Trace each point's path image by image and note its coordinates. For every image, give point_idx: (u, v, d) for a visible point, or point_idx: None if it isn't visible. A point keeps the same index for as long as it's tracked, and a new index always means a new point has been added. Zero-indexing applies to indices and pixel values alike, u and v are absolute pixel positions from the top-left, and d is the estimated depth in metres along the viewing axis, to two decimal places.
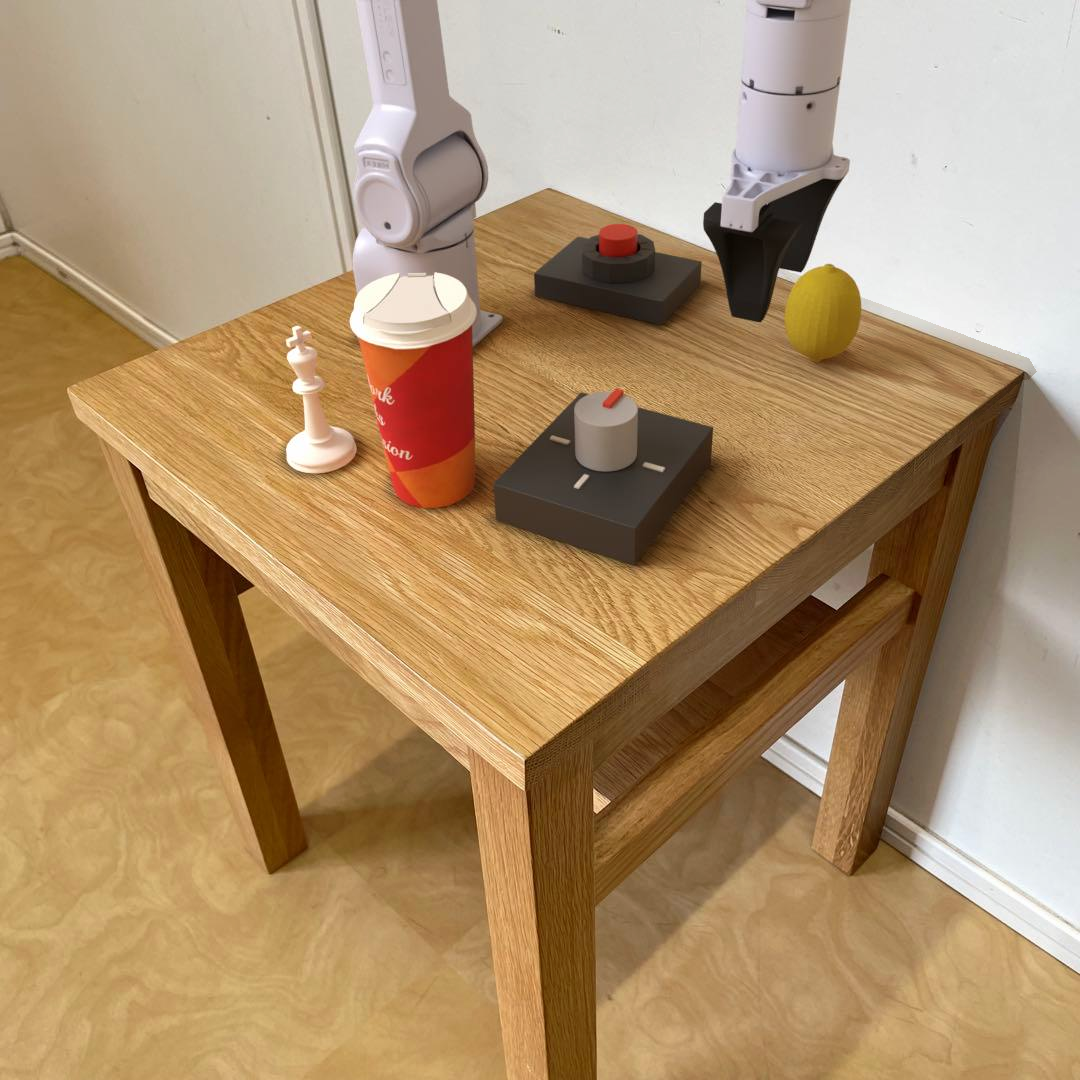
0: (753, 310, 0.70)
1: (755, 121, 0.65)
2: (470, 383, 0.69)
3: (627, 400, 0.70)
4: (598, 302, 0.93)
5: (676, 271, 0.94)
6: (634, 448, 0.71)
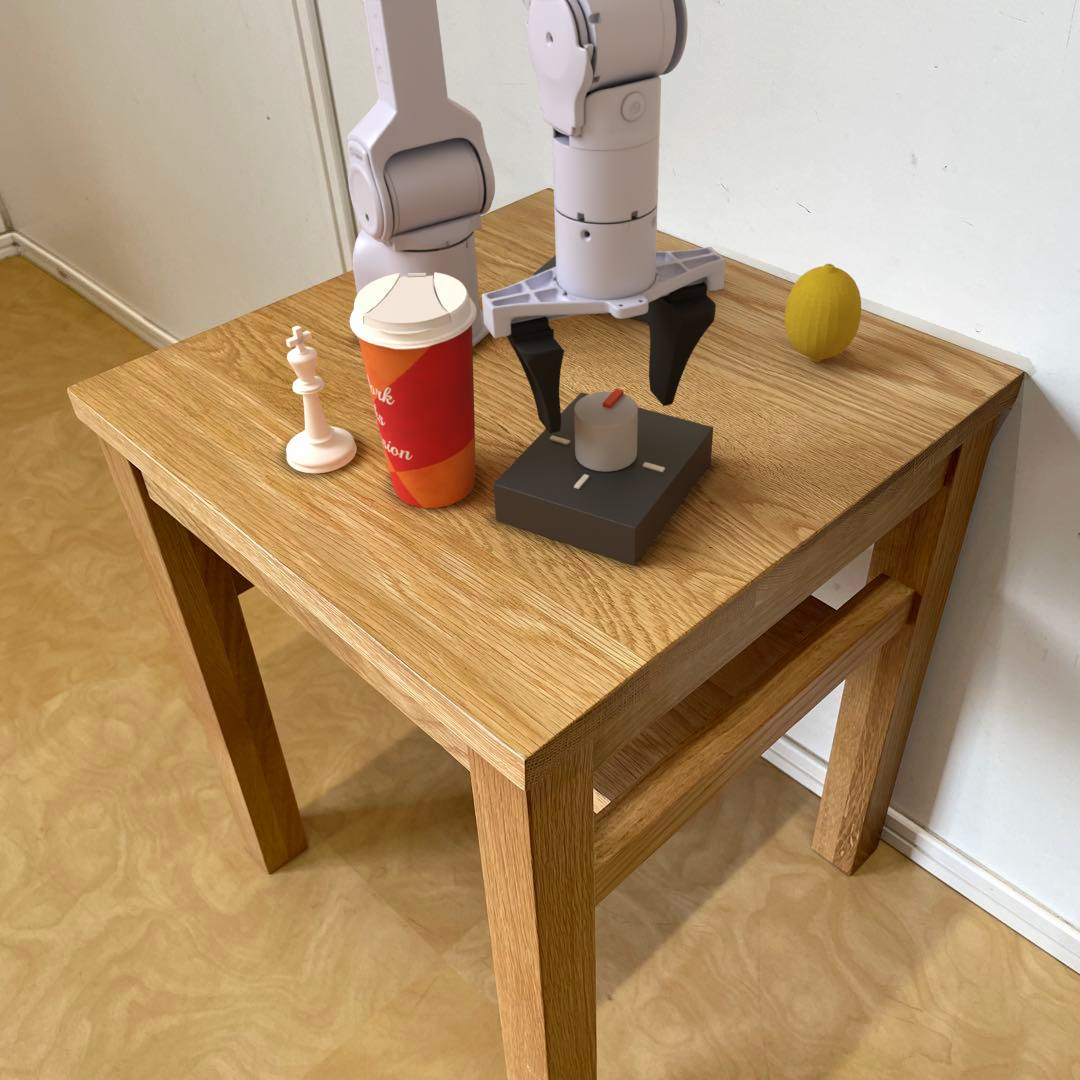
0: (545, 419, 0.68)
1: (555, 233, 0.62)
2: (470, 383, 0.69)
3: (627, 400, 0.70)
4: None
5: None
6: (634, 448, 0.71)
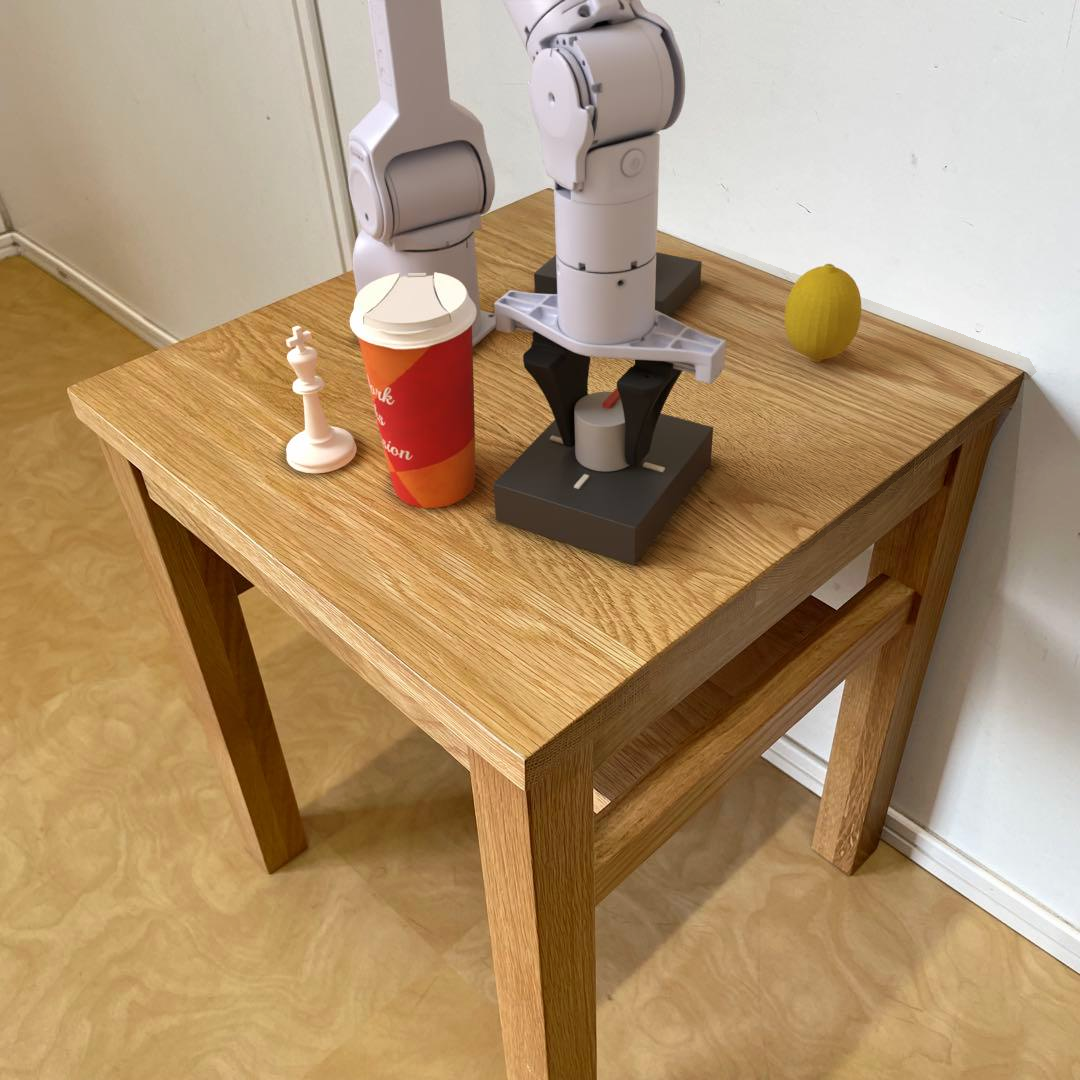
0: (647, 444, 0.71)
1: (640, 295, 0.62)
2: (470, 383, 0.69)
3: None
4: None
5: (676, 271, 0.94)
6: None
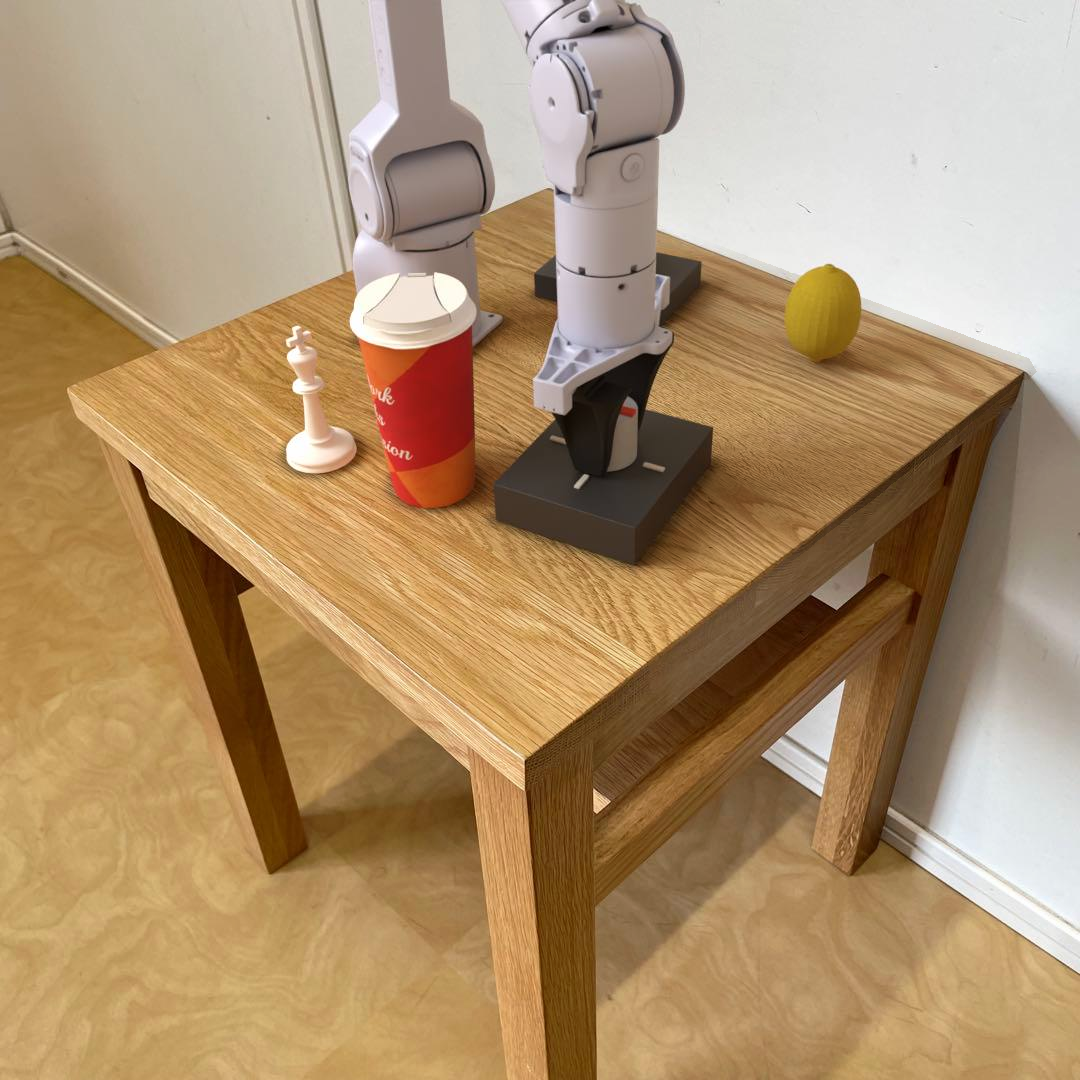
0: (594, 465, 0.69)
1: (569, 299, 0.63)
2: (470, 383, 0.69)
3: (621, 420, 0.69)
4: None
5: (676, 271, 0.94)
6: None
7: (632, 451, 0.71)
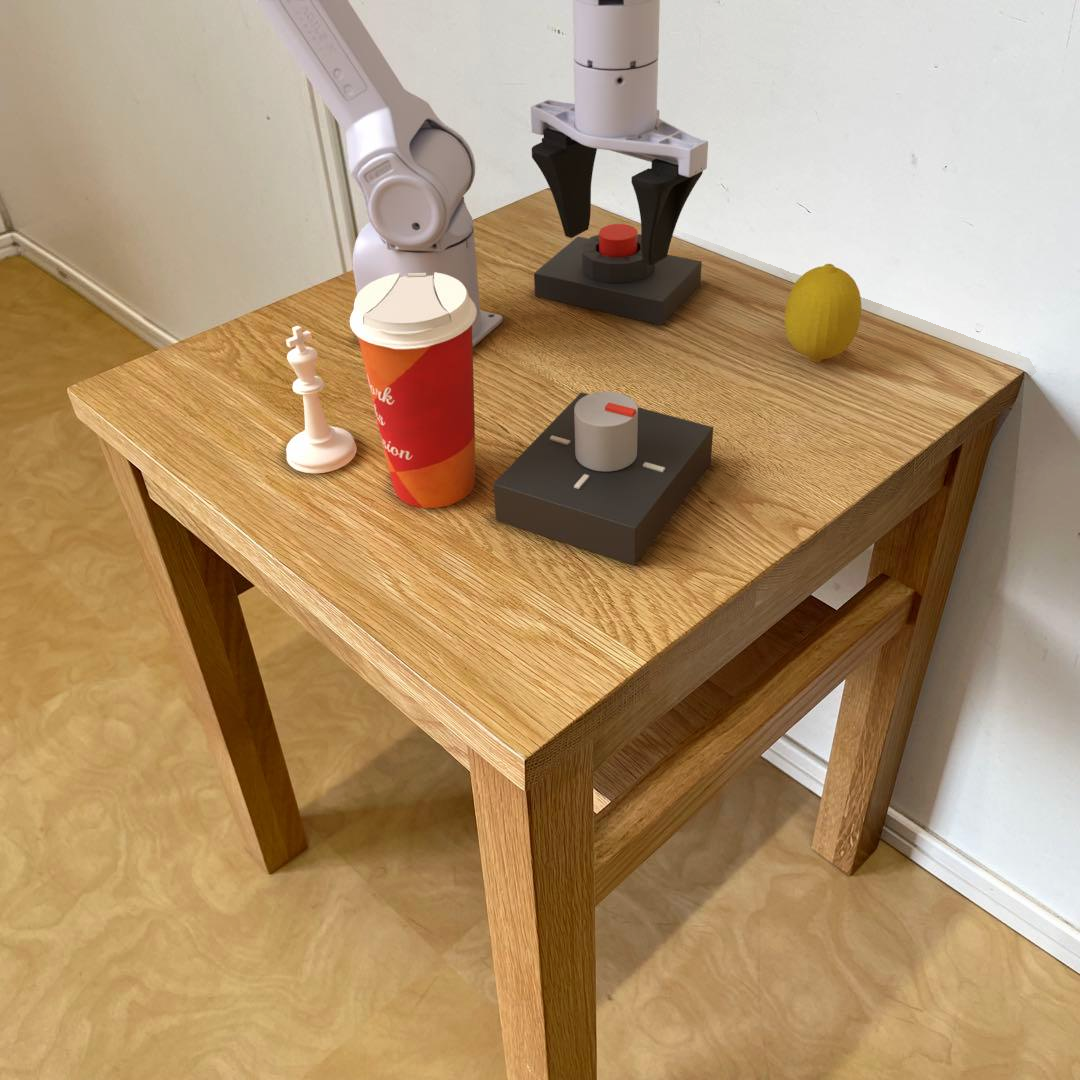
0: (664, 248, 0.81)
1: (637, 94, 0.74)
2: (470, 383, 0.69)
3: (621, 420, 0.69)
4: (598, 302, 0.93)
5: (676, 271, 0.94)
6: (593, 457, 0.70)
7: (632, 451, 0.71)
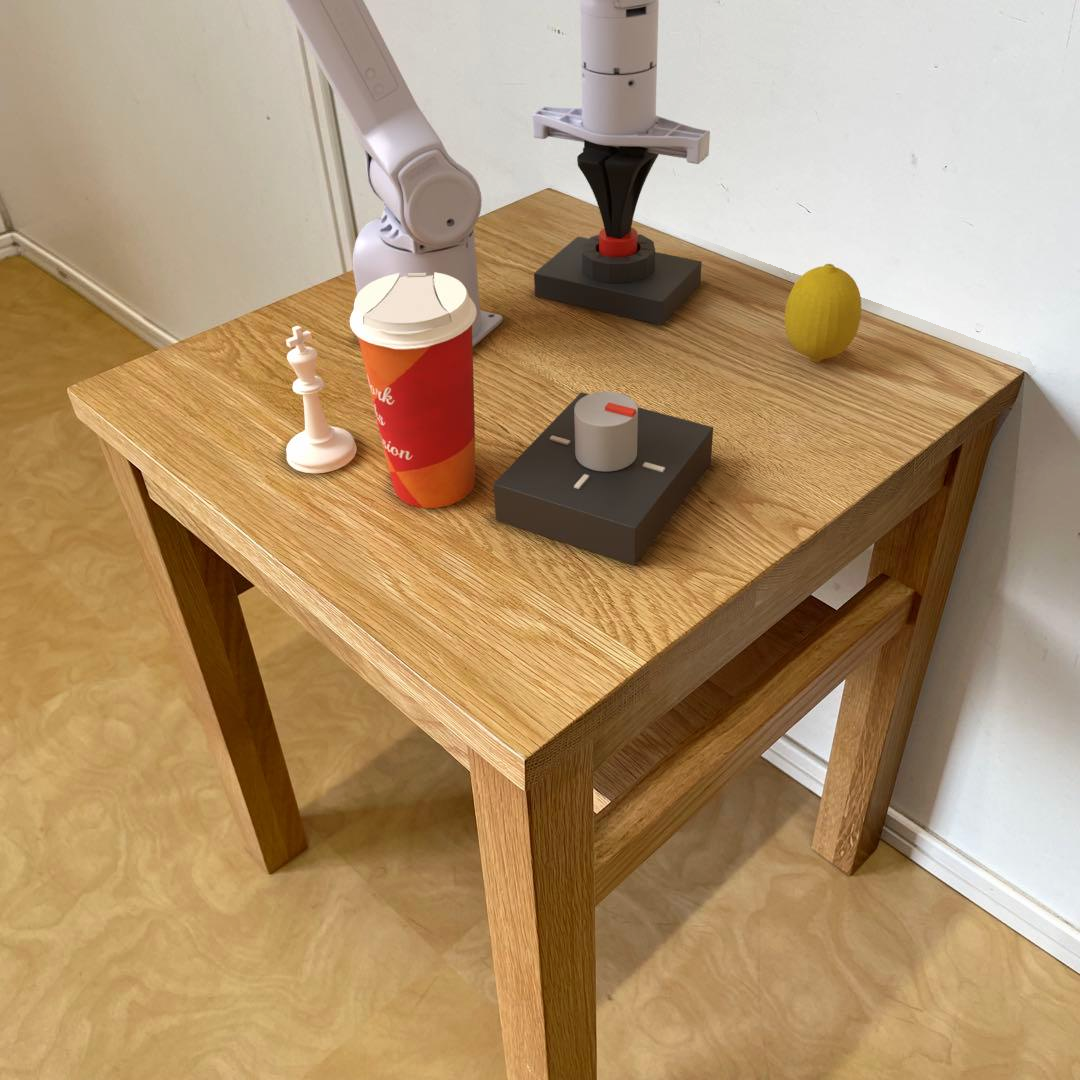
0: (629, 223, 0.92)
1: (645, 94, 0.83)
2: (470, 383, 0.69)
3: (621, 420, 0.69)
4: (598, 302, 0.93)
5: (676, 271, 0.94)
6: (593, 457, 0.70)
7: (632, 451, 0.71)
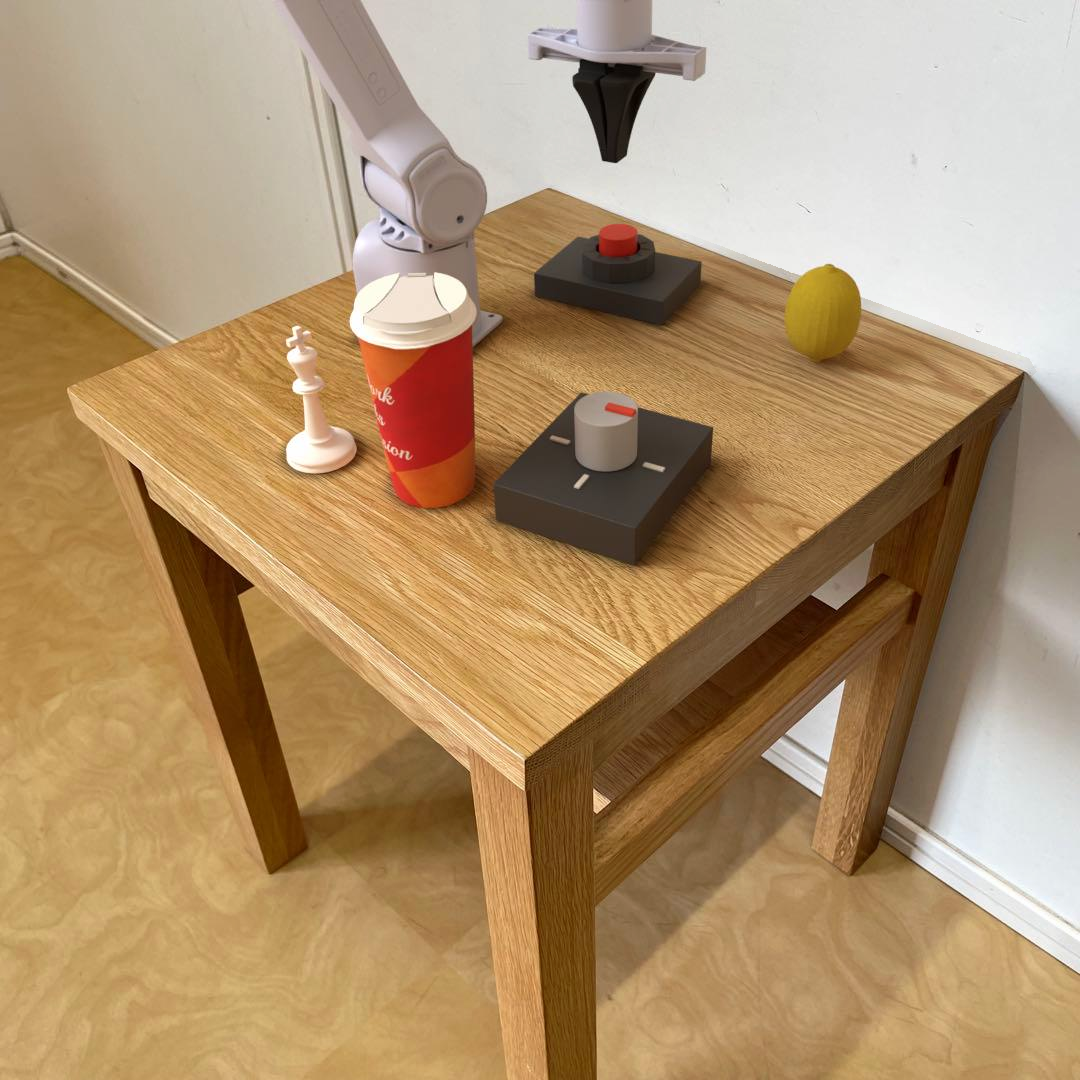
0: (625, 147, 0.91)
1: (640, 9, 0.82)
2: (470, 383, 0.69)
3: (621, 420, 0.69)
4: (598, 302, 0.93)
5: (676, 271, 0.94)
6: (593, 457, 0.70)
7: (632, 451, 0.71)
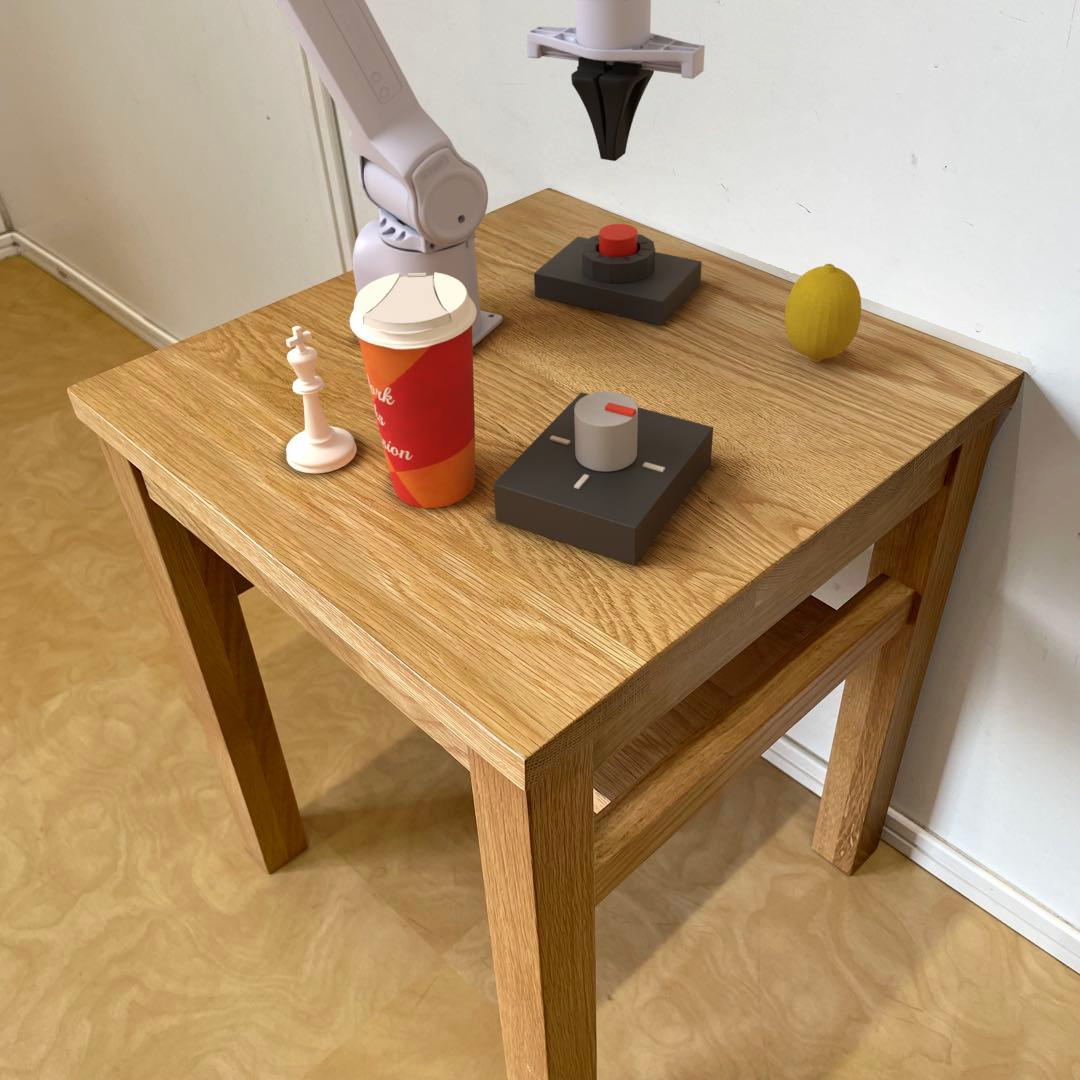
0: (623, 145, 0.92)
1: (639, 7, 0.83)
2: (470, 383, 0.69)
3: (621, 420, 0.69)
4: (598, 302, 0.93)
5: (676, 271, 0.94)
6: (593, 457, 0.70)
7: (632, 451, 0.71)
